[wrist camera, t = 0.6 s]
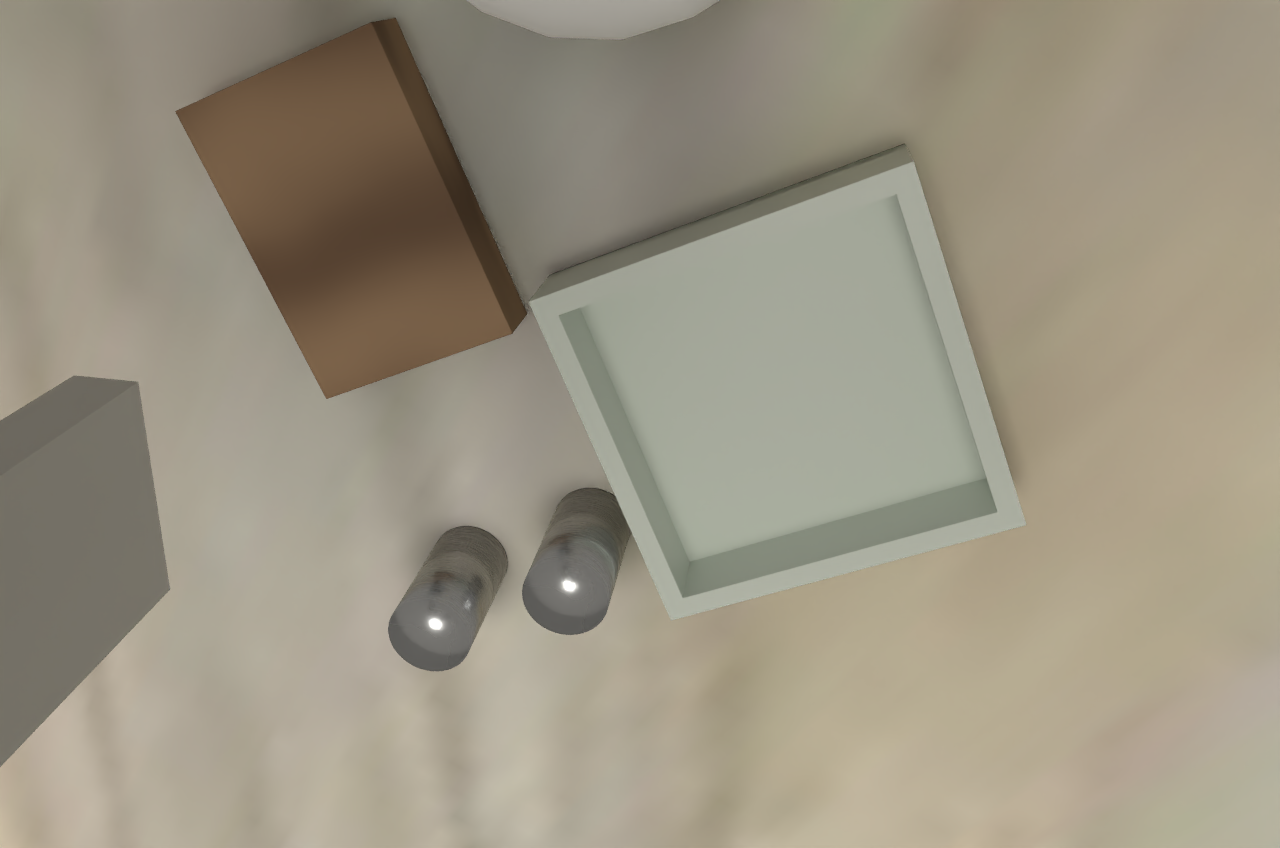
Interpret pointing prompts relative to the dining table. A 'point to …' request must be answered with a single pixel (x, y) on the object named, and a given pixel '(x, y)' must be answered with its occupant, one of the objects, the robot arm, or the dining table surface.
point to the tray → (783, 389)
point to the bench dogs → (477, 563)
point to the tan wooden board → (356, 209)
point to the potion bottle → (592, 15)
